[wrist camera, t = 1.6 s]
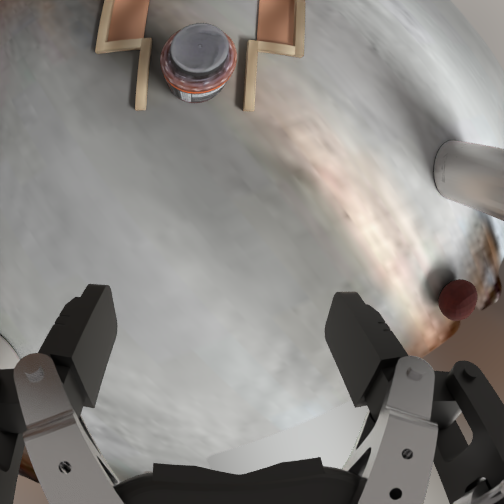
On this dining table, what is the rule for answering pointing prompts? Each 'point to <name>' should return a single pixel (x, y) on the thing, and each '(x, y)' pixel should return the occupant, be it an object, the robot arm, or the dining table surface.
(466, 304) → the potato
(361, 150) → the dining table surface
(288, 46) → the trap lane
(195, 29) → the supplement bottle
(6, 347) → the cylinder vase
